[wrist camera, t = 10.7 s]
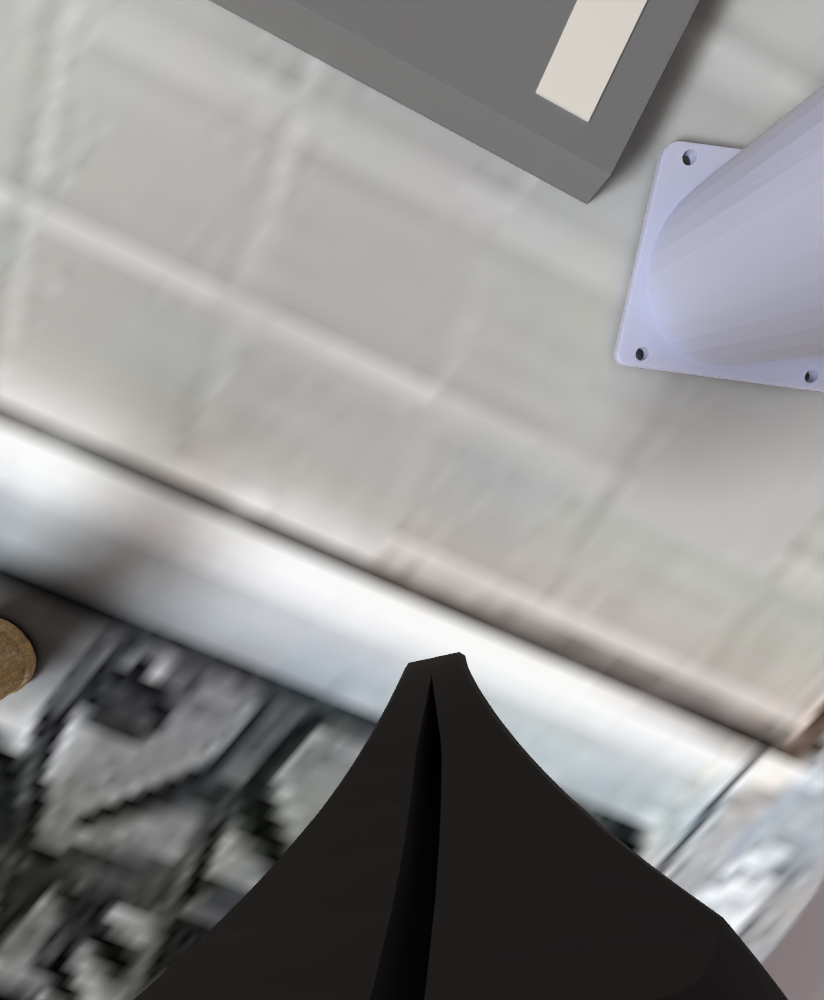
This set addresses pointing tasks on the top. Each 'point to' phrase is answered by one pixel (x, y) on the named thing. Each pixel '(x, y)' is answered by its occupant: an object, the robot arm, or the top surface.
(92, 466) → the top surface
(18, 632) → the sprinkles bottle
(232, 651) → the top surface
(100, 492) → the top surface
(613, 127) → the box
